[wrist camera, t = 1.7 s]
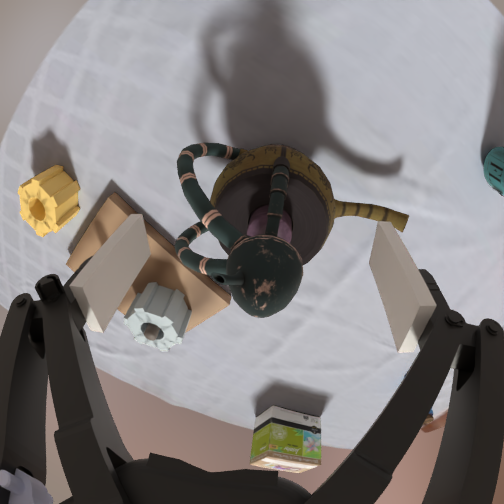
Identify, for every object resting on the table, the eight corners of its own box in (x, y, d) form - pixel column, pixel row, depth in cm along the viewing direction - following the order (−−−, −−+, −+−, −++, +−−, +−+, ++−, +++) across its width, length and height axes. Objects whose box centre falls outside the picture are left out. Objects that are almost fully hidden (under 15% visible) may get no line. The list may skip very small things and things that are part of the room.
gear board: (71, 257, 46) (44, 288, 39) (114, 191, 39) (81, 221, 31) (168, 337, 55) (154, 374, 47) (231, 296, 47) (221, 339, 39)
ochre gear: (34, 192, 40) (12, 208, 35) (51, 154, 36) (26, 167, 31) (68, 228, 43) (48, 247, 38) (89, 193, 39) (67, 210, 34)
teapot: (210, 121, 33) (99, 189, 13) (408, 164, 32) (519, 273, 13) (202, 211, 39) (126, 345, 20) (380, 245, 39) (434, 387, 19)
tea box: (322, 416, 68) (322, 465, 55) (301, 428, 73) (299, 474, 61) (272, 403, 65) (267, 457, 53) (254, 417, 71) (248, 466, 58)
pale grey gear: (137, 313, 49) (124, 338, 44) (138, 275, 44) (123, 301, 39) (187, 330, 50) (178, 357, 45) (195, 294, 45) (185, 322, 40)
